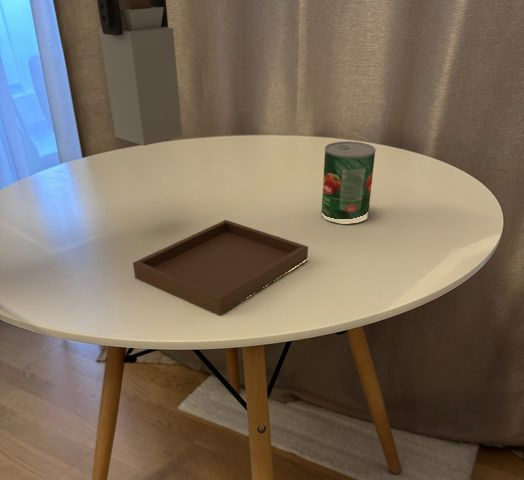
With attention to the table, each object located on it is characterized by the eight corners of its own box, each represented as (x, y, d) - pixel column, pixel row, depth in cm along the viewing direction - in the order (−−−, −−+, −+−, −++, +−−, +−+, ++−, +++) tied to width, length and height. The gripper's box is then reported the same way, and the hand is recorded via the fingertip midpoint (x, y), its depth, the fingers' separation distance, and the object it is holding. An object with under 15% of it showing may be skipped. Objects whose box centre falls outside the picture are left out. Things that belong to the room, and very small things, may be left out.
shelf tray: (219, 315, 66) (219, 299, 65) (135, 277, 74) (132, 262, 73) (307, 261, 78) (308, 246, 77) (226, 233, 86) (225, 219, 85)
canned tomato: (378, 218, 91) (386, 150, 84) (341, 228, 87) (347, 158, 81) (347, 203, 96) (352, 138, 90) (311, 213, 93) (314, 146, 86)
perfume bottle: (144, 145, 75) (124, -13, 64) (115, 136, 79) (92, -14, 68) (182, 136, 79) (169, -14, 68) (152, 127, 83) (136, -16, 72)
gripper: (149, -141, 68) (164, 24, 78) (25, -160, 57) (62, 36, 67) (193, -147, 64) (203, 27, 75) (69, -168, 53) (101, 40, 64)
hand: (136, 30), depth 71 cm, fingers closed on perfume bottle, 7 cm apart
